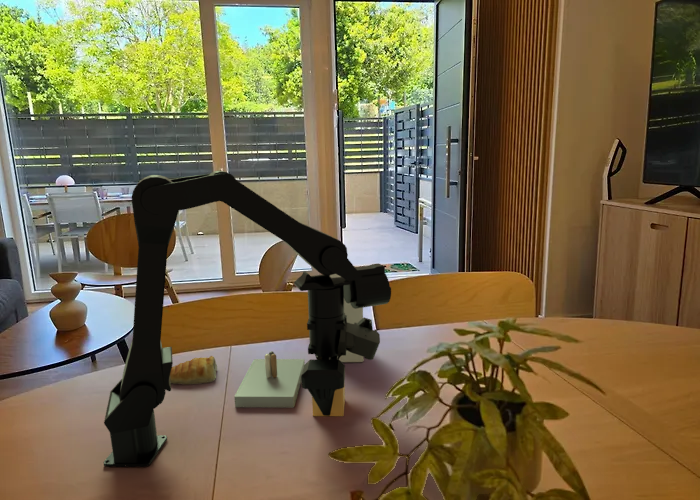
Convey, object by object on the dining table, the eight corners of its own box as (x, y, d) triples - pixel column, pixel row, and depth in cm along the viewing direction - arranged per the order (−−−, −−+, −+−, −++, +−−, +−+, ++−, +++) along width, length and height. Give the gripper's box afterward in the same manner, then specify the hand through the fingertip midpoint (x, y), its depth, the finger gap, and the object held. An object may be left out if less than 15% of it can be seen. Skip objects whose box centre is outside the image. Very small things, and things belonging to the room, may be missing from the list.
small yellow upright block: (343, 416, 75) (342, 382, 73) (312, 416, 75) (311, 382, 74) (344, 399, 80) (344, 367, 78) (316, 399, 80) (315, 367, 78)
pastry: (164, 390, 84) (161, 371, 83) (168, 373, 91) (166, 355, 90) (217, 383, 87) (215, 364, 86) (217, 367, 93) (216, 349, 92)
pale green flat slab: (293, 407, 78) (292, 371, 76) (235, 407, 78) (232, 371, 76) (304, 368, 91) (303, 337, 90) (254, 368, 92) (252, 337, 90)
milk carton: (363, 362, 93) (362, 272, 89) (328, 363, 93) (325, 272, 89) (363, 347, 100) (362, 263, 96) (330, 348, 100) (328, 263, 96)
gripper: (378, 335, 64) (378, 434, 68) (375, 293, 82) (376, 373, 86) (298, 335, 65) (303, 434, 68) (313, 294, 83) (316, 373, 86)
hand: (329, 400), depth 77 cm, fingers open, 8 cm apart
